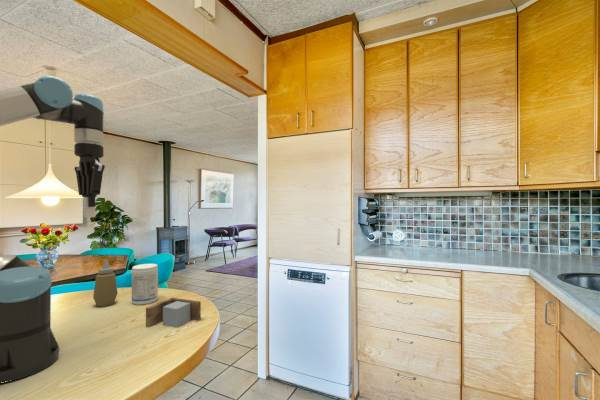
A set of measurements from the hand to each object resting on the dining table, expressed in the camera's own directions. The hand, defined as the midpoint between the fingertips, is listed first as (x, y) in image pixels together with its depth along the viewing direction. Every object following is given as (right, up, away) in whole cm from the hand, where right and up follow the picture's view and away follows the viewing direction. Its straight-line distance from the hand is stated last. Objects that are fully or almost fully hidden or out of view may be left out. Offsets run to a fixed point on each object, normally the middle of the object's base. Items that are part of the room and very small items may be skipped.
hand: (89, 217), depth 90 cm
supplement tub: (+4, -37, +26) cm, 45 cm away
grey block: (+27, -36, +4) cm, 45 cm away
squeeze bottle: (-10, -37, +22) cm, 44 cm away
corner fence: (+26, -36, +4) cm, 44 cm away
